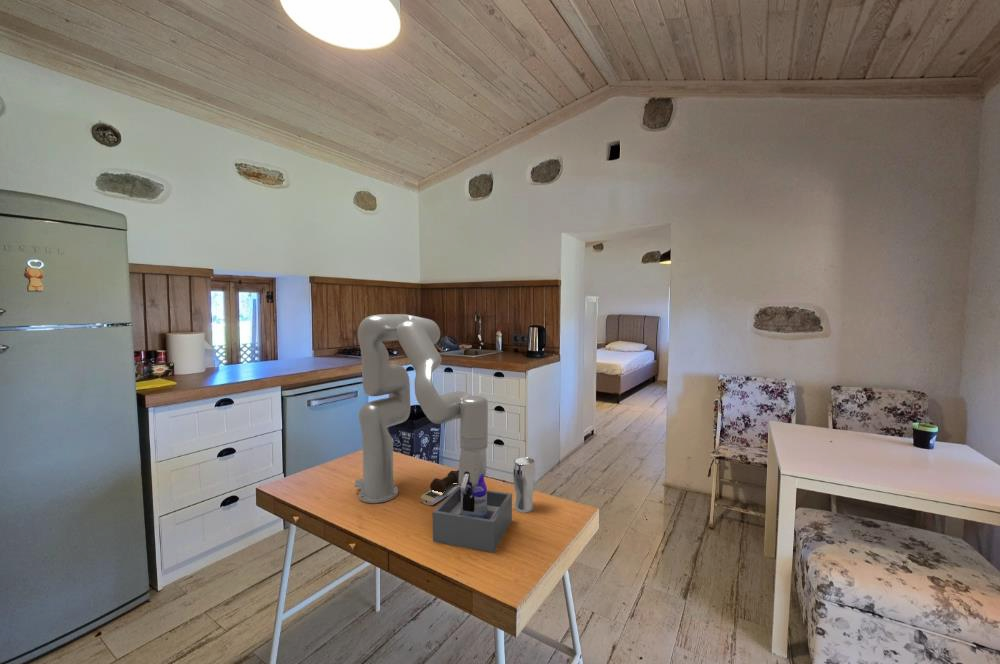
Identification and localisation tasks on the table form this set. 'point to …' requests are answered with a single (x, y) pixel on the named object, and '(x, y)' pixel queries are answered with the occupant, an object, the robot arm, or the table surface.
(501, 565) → the table surface
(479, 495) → the bottle
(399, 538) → the table surface
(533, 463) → the beer glass
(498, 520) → the bore box
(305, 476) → the table surface
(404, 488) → the table surface
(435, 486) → the bolt
